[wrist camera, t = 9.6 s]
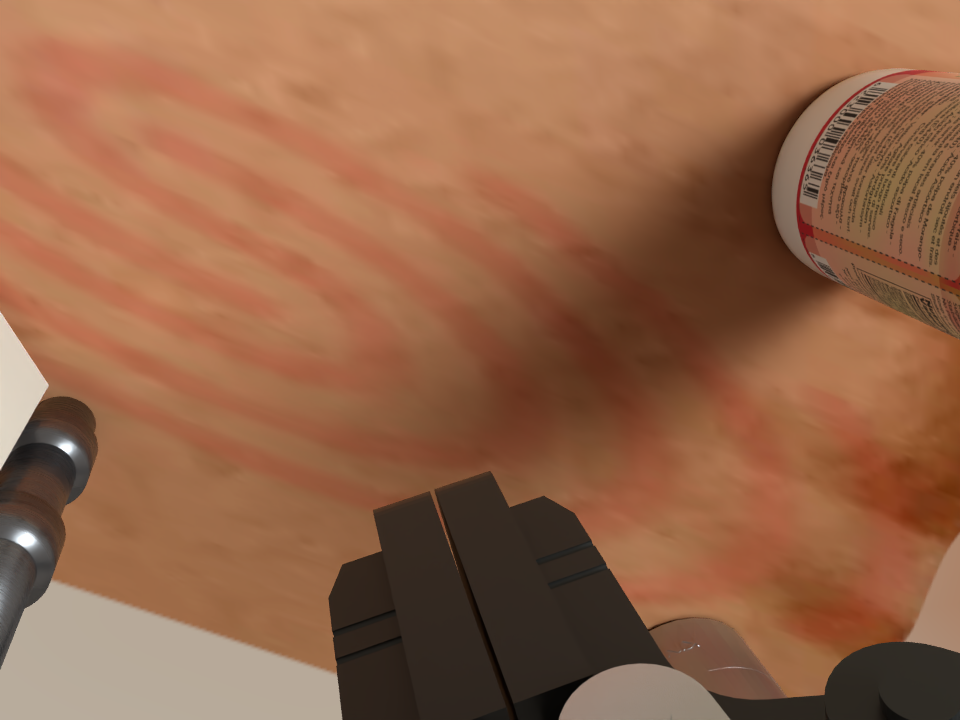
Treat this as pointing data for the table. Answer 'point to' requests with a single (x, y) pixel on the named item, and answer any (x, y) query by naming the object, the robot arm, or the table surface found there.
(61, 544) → the gate post
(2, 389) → the gate
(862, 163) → the fruit juice
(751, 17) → the table surface
